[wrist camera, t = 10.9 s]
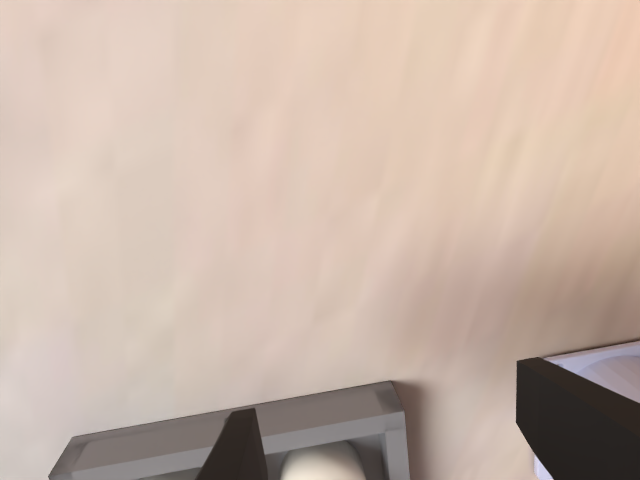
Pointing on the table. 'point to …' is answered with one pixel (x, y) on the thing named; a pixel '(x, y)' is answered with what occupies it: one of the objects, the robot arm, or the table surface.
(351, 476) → the cream egg
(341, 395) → the egg tray
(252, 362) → the table surface
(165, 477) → the cream egg
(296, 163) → the table surface
